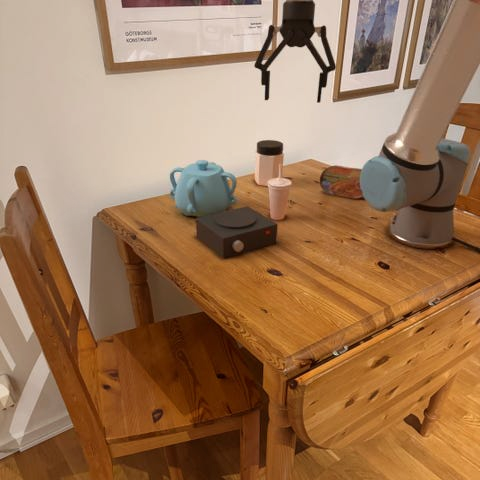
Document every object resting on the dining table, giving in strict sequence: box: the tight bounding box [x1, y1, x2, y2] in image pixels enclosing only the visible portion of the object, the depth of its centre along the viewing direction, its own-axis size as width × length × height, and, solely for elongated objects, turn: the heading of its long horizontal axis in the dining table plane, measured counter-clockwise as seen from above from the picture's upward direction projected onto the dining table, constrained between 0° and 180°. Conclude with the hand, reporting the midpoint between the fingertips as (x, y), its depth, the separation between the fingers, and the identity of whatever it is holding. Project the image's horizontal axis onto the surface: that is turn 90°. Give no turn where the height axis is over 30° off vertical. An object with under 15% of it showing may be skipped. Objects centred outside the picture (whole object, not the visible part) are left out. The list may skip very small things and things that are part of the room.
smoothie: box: [266, 164, 293, 221], centre depth 116 cm, size 6×6×14 cm
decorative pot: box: [169, 159, 239, 218], centre depth 119 cm, size 16×16×14 cm
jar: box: [254, 139, 285, 187], centre depth 139 cm, size 9×8×12 cm
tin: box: [319, 164, 364, 200], centre depth 132 cm, size 15×3×8 cm, turn 63°
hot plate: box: [195, 205, 279, 259], centre depth 107 cm, size 14×15×6 cm
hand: (292, 100), depth 116 cm, fingers open, 13 cm apart
